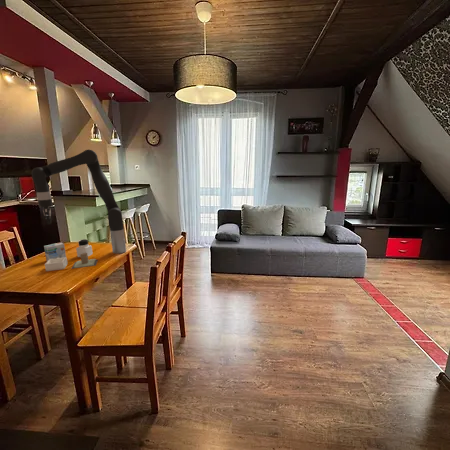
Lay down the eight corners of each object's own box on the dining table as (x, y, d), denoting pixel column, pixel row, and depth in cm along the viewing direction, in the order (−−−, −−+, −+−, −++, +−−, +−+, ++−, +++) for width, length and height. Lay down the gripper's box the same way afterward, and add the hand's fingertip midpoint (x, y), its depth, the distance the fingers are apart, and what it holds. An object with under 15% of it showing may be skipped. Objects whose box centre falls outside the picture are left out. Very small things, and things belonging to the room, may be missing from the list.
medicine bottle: (92, 254, 186) (90, 238, 183) (86, 257, 179) (84, 241, 176) (83, 254, 187) (81, 238, 184) (77, 257, 180) (74, 241, 177)
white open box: (67, 264, 167) (66, 257, 166) (64, 269, 158) (62, 262, 157) (50, 266, 164) (49, 259, 163) (46, 271, 155) (44, 264, 154)
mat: (98, 259, 174) (98, 259, 174) (95, 266, 163) (95, 265, 163) (75, 262, 169) (75, 262, 169) (71, 269, 158) (71, 268, 158)
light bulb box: (49, 262, 171) (46, 247, 168) (46, 260, 175) (43, 245, 172) (66, 258, 179) (64, 243, 177) (62, 256, 183) (60, 242, 181)
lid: (95, 259, 173) (94, 250, 171) (93, 265, 163) (91, 255, 161) (77, 262, 169) (76, 252, 168) (74, 268, 159) (72, 257, 158)
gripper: (51, 199, 161) (55, 224, 164) (51, 197, 172) (56, 220, 176) (36, 200, 157) (41, 225, 160) (38, 198, 169) (43, 222, 172)
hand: (49, 223), depth 168 cm, fingers open, 8 cm apart
